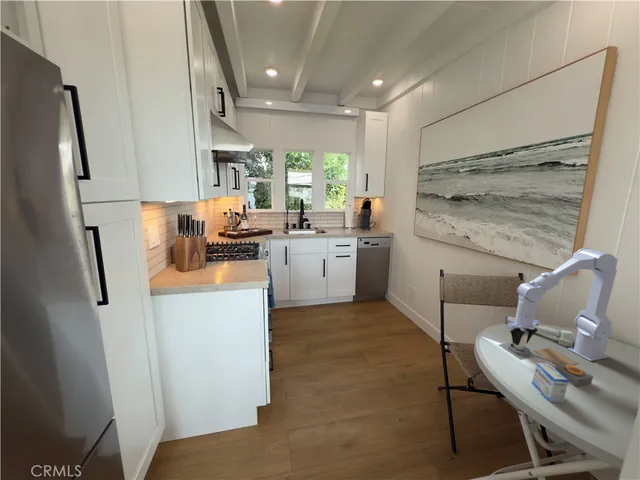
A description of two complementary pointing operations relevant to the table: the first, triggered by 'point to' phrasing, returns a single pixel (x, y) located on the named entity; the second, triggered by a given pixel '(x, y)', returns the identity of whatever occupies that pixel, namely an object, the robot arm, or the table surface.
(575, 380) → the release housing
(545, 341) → the table surface
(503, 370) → the table surface
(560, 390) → the medicine box
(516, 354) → the cartridge socket
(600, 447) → the table surface
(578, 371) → the release button
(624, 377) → the table surface
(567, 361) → the tan board
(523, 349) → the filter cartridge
